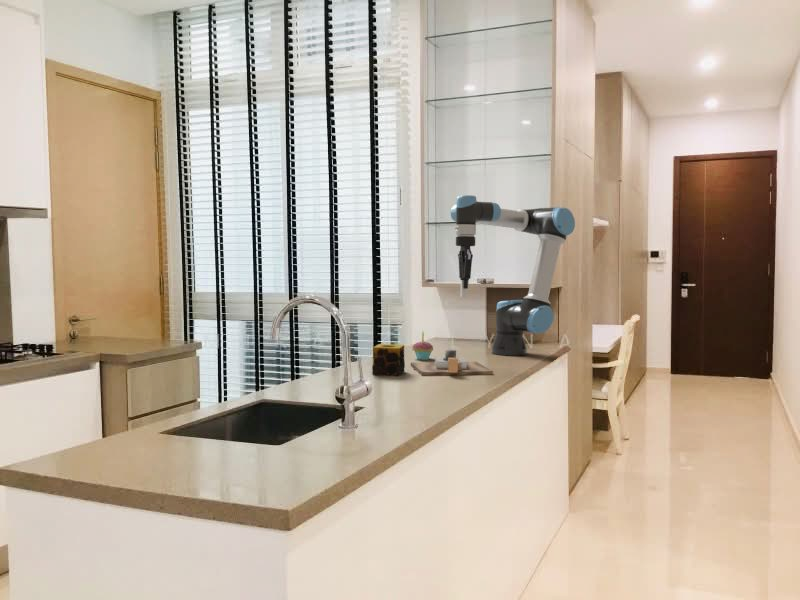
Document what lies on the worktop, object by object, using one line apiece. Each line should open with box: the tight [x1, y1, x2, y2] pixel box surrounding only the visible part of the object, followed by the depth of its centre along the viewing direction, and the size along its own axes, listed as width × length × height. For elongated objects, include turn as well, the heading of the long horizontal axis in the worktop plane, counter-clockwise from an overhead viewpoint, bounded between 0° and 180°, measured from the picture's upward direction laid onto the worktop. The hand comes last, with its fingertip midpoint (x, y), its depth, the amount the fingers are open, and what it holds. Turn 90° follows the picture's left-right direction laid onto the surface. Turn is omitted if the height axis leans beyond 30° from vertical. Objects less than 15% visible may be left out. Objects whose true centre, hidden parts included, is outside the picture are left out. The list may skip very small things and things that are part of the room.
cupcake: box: [411, 331, 434, 361], centre depth 295 cm, size 9×8×12 cm
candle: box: [371, 343, 406, 377], centre depth 260 cm, size 10×10×10 cm
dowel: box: [458, 362, 462, 371], centre depth 261 cm, size 2×2×3 cm
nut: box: [434, 356, 468, 373], centre depth 265 cm, size 20×11×5 cm, turn 0°
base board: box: [410, 349, 494, 376], centre depth 269 cm, size 26×22×7 cm
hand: (464, 296), depth 281 cm, fingers closed
